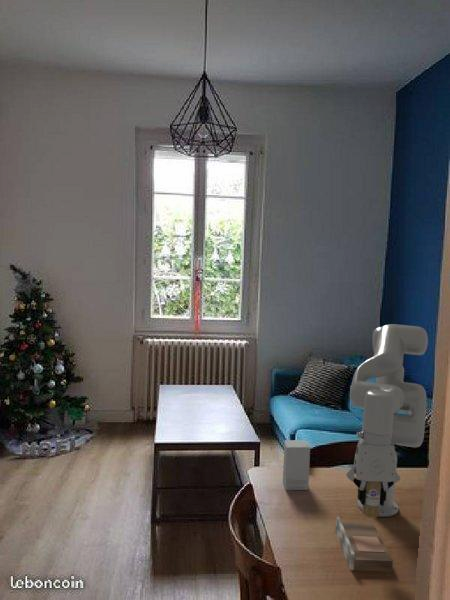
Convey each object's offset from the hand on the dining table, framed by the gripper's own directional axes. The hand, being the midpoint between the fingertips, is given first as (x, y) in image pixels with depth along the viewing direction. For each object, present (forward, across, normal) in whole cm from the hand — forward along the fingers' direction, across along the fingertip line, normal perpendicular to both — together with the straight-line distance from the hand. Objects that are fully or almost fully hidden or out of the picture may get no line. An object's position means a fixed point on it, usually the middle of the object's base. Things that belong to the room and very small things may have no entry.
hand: (371, 502), depth 139 cm
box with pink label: (+15, 0, +2) cm, 15 cm away
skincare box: (+15, -14, +38) cm, 44 cm away
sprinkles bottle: (+4, 0, 0) cm, 4 cm away
